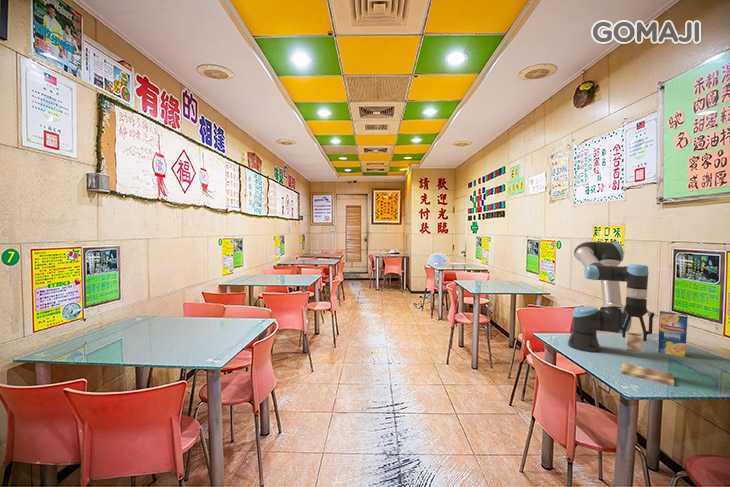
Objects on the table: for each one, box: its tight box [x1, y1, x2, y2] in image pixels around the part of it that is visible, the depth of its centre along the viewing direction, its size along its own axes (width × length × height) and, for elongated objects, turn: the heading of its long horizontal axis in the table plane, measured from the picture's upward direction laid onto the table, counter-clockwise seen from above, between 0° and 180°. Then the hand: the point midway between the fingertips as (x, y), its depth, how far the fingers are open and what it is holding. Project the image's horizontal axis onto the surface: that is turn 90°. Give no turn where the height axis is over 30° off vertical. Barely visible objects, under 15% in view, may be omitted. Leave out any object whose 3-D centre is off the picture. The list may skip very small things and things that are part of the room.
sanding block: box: [626, 331, 642, 354], centre depth 153 cm, size 5×8×7 cm, turn 139°
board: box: [620, 362, 675, 387], centre depth 150 cm, size 18×12×2 cm, turn 50°
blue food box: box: [657, 310, 688, 358], centre depth 179 cm, size 7×11×22 cm, turn 49°
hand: (633, 346), depth 153 cm, fingers closed on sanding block, 5 cm apart
